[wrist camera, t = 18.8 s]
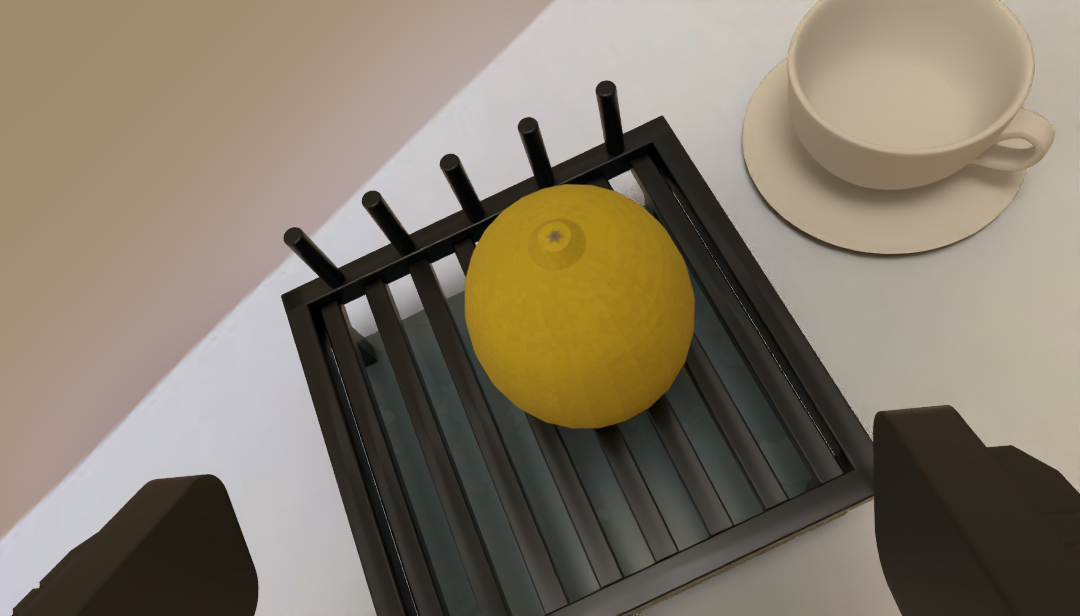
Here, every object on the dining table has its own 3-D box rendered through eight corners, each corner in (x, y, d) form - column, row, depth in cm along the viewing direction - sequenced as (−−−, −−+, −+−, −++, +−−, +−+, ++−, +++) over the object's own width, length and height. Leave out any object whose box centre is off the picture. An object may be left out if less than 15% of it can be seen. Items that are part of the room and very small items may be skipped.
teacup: (692, 185, 30) (692, 110, 26) (820, 5, 32) (838, -91, 28) (949, 309, 26) (998, 245, 22) (1072, 96, 29) (1138, 0, 24)
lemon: (509, 466, 22) (418, 379, 15) (505, 289, 24) (424, 139, 17) (706, 450, 21) (713, 350, 14) (683, 269, 23) (678, 102, 16)
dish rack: (668, 197, 30) (658, 50, 23) (860, 514, 24) (933, 457, 17) (344, 349, 30) (229, 252, 23) (462, 703, 24) (359, 729, 17)
